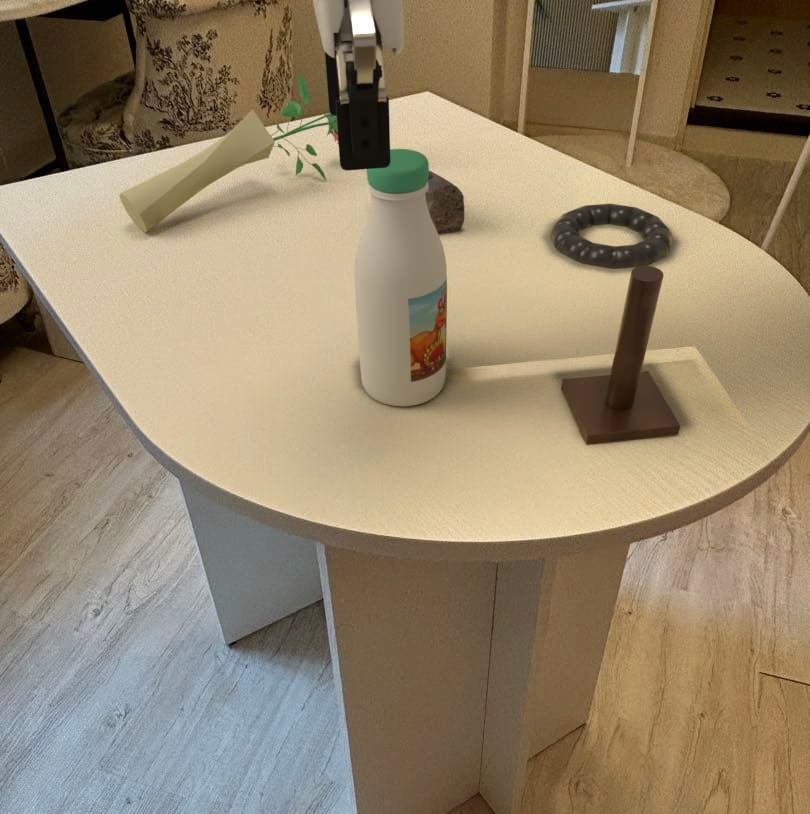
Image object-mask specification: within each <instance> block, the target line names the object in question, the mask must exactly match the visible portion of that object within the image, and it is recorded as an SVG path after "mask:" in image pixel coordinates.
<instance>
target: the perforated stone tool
mask: <svg viewBox="0 0 810 814" xmlns="http://www.w3.org/2000/svg"><path fill="white" fill-rule="evenodd" d="M428 185H429V188H428V191H427V192H426V193H425V196H426V203H427V207H428V211H429V214H430V217H431V219H432V222H433V224H434V226H435V228H436V230H437V233H438V235H443V234H450V233H454V232H458V231H460V230H461V229H462V227H463V226H464V223H465V201H464V200H465V199H464V198H465V196H464V194H463V192H462V190H460V188H459V187H458V186H457V185H455V184H454V183H452V182H451V181H449V180H448V179H446V178H445V177H442V176H441V175H439V174H437V173H435V172H433V171H431V170H429V178H428Z"/></svg>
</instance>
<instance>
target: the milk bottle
mask: <svg viewBox="0 0 810 814" xmlns="http://www.w3.org/2000/svg"><path fill="white" fill-rule="evenodd" d="M429 165H430V164H429V160H428V158H427V156H426V155H424V154H423V153H421V152H420V151H418V150H413V149H409V148H408V149H407V148H390V165H389V166H388V167H386V168H375V169H366V178H367V183H368V186H367V191H368V193H369V194H370V195H371V196H370V197H371V199H370V200H371V202H370V208H369V212H368V217H367V220H366V222H365V225H364V227H363V230H362V233H361V235H360V238H359V240H358V243H357V246H356V247H357V248H356V251H355V258H354V270H353V271H354V297H355V311H356V327H357V341H358V343H357V344H358V355H359V368H360V378H361V385H362V388H363V389H364V390H365V392H366V393H367V394H368V395H369V397H370V398H372V399H373V400H375V401H377V402H379V403H381V404H384V405H388V406H394V407H413V406H416V405H422V404H423V403H427V402H428V401H430V400H432V399H434V398H435V397H436V396H437V395H438V394H439V393H440V392H441V390H443V387H444V385H445V383H446V374H447V373H446V371H447V337H448V336H447V335H448V333H447V330H448V329H447V328H448V278H447V277H448V274H447V272H448V271H447V269H448V268H447V259H446V254H445V249H444V246H443V243H442V240H441V238H440V234H438V233H437V230H436V228H435V226H434V224H433V222H432V219H431V217H430V214H429V211H428V207H427V203H426V196H425V193H426V192H427V191H428V188H429V185H428V178H429V171H430V167H429Z"/></svg>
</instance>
